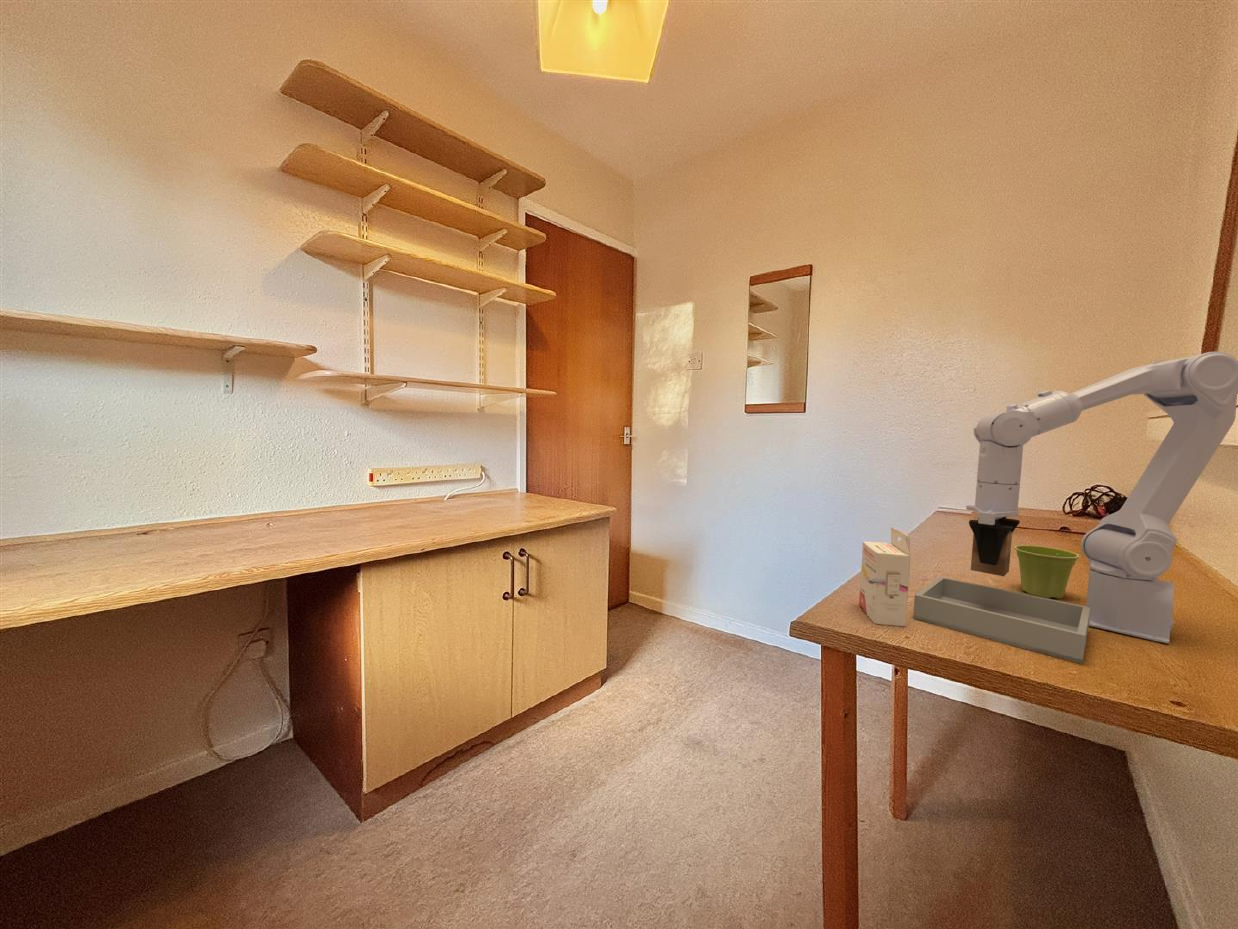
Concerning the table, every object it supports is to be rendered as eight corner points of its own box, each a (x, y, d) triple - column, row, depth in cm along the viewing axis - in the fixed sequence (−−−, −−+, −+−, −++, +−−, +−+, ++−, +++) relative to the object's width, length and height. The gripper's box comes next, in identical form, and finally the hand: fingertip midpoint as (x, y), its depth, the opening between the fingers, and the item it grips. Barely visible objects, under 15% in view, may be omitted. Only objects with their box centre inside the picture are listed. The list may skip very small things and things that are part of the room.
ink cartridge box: (856, 605, 83) (862, 523, 82) (887, 608, 82) (893, 525, 81) (873, 624, 74) (879, 533, 73) (907, 627, 73) (913, 536, 72)
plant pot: (1070, 606, 85) (1075, 560, 84) (1005, 592, 92) (1009, 549, 92) (1078, 596, 91) (1083, 552, 90) (1016, 583, 98) (1020, 542, 97)
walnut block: (1008, 571, 80) (1012, 531, 79) (1003, 576, 77) (1007, 534, 76) (976, 565, 83) (979, 527, 83) (970, 570, 80) (973, 530, 80)
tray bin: (1087, 632, 73) (1090, 607, 73) (1082, 664, 63) (1085, 635, 62) (938, 597, 88) (940, 576, 88) (913, 618, 77) (914, 595, 77)
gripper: (978, 478, 87) (972, 550, 88) (958, 482, 77) (952, 563, 78) (1028, 482, 81) (1021, 558, 82) (1013, 487, 72) (1006, 573, 73)
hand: (991, 561), depth 80 cm, fingers closed on walnut block, 4 cm apart
